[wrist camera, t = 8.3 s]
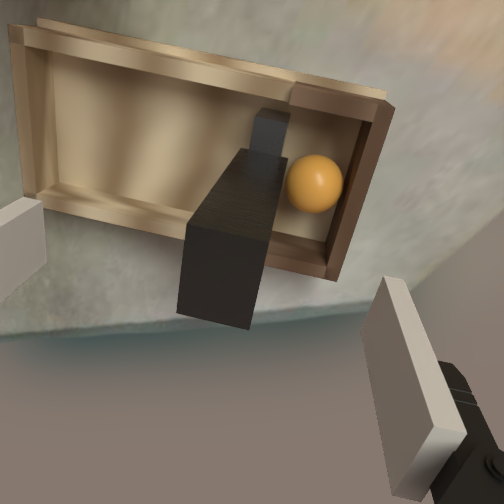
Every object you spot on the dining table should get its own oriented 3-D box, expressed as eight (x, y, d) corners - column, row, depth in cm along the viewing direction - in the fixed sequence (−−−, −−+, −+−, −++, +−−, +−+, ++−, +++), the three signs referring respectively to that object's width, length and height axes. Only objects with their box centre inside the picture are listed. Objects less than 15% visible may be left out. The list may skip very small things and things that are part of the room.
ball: (281, 195, 30) (276, 214, 27) (293, 143, 29) (289, 156, 25) (333, 207, 30) (335, 228, 27) (348, 155, 28) (353, 170, 25)
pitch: (55, 192, 34) (16, 214, 30) (45, 18, 28) (-5, 13, 24) (331, 255, 33) (334, 287, 29) (384, 90, 27) (398, 99, 23)
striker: (236, 212, 31) (171, 350, 17) (255, 105, 27) (192, 169, 13) (273, 220, 31) (240, 366, 17) (298, 114, 27) (281, 188, 13)
